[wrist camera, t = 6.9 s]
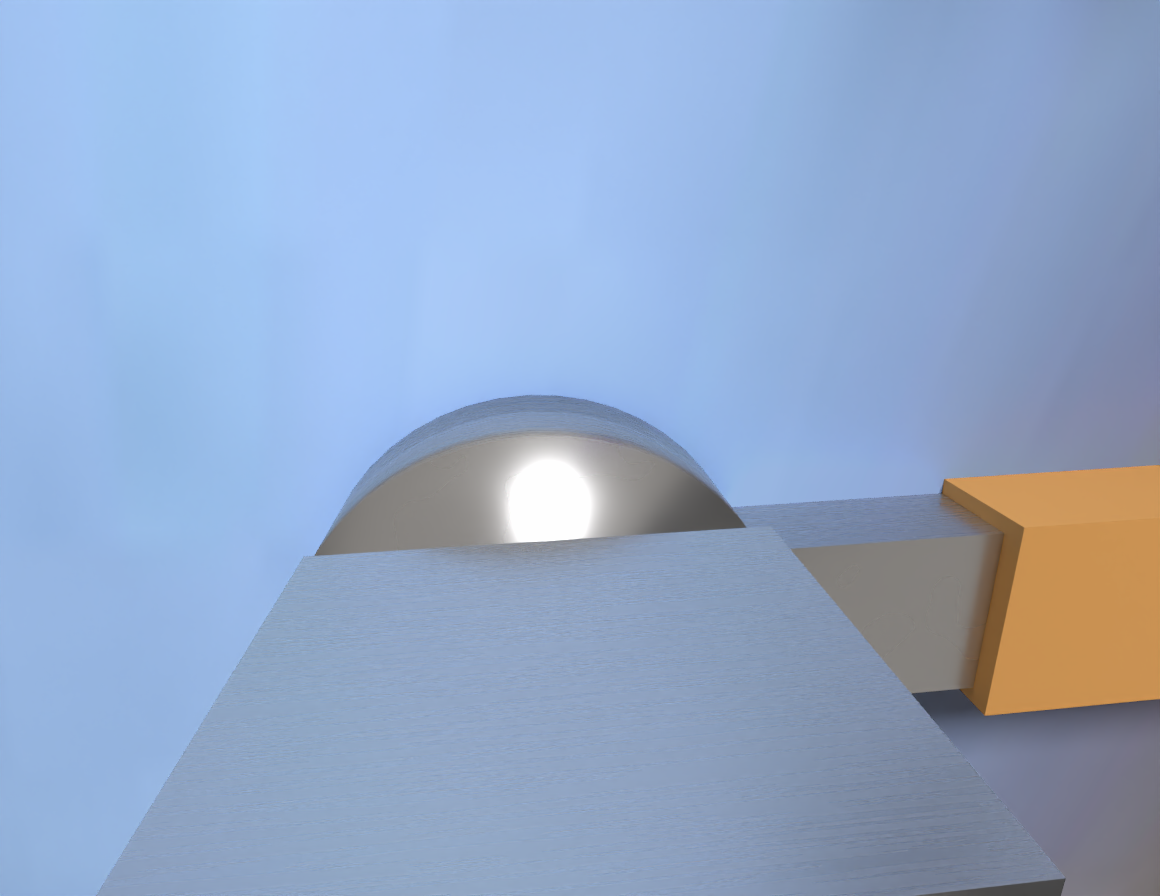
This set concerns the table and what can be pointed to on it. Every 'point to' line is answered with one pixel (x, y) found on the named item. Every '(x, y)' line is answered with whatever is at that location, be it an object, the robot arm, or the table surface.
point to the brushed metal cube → (572, 739)
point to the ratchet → (818, 544)
